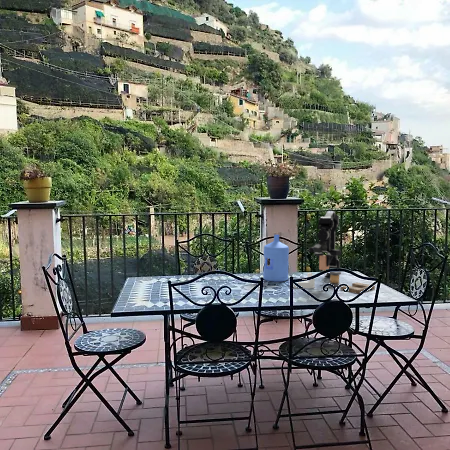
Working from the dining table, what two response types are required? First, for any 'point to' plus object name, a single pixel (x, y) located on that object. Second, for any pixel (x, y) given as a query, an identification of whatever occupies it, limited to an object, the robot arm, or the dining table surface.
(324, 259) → the salmon orange block
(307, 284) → the bracket
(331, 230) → the robot arm
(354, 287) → the notched board
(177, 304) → the dining table surface
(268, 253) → the water jug
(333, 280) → the bobbin
